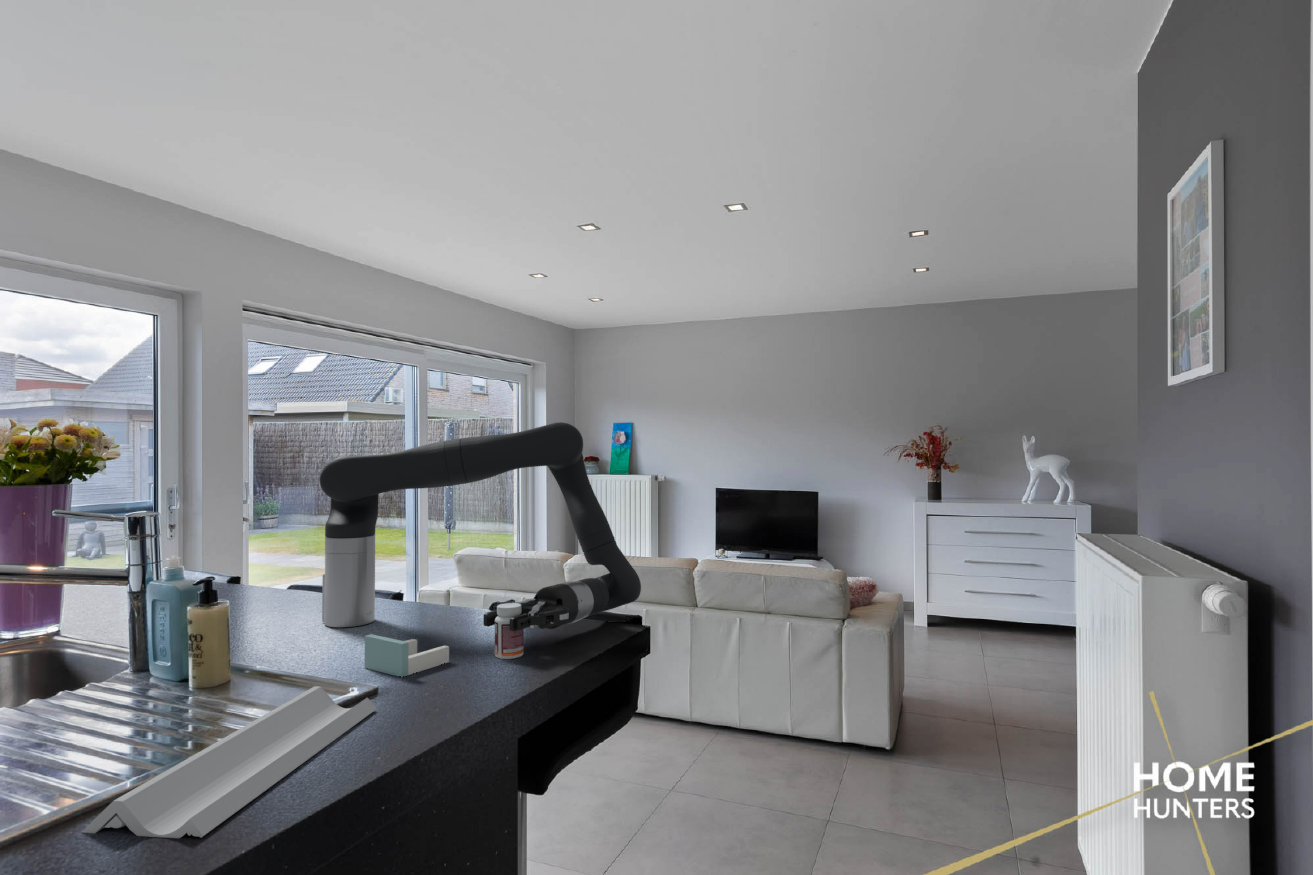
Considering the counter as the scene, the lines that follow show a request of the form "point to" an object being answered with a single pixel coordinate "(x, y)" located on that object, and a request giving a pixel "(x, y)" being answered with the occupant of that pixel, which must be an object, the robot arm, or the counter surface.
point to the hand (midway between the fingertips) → (498, 622)
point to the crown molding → (232, 769)
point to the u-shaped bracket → (401, 656)
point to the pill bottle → (508, 632)
